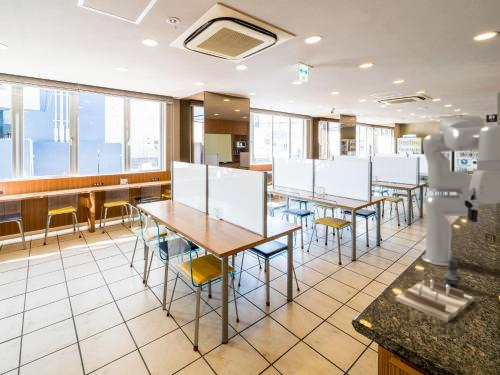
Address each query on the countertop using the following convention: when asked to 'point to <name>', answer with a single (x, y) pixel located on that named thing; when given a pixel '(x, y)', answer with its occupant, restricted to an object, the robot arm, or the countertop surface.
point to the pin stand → (435, 299)
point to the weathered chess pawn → (452, 274)
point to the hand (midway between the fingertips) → (489, 221)
